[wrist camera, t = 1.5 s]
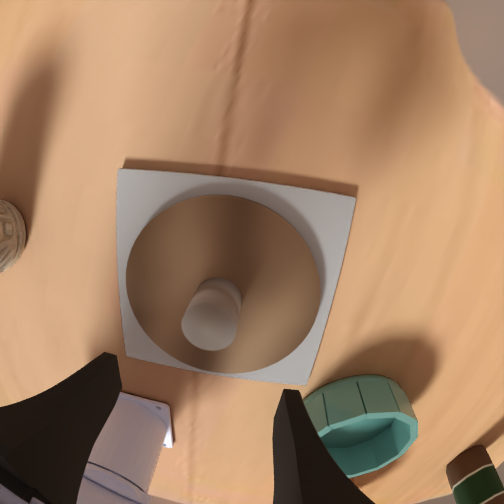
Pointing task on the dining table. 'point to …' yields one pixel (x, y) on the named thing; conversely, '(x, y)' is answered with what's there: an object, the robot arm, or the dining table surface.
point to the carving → (10, 235)
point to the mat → (268, 194)
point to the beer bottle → (475, 478)
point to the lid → (223, 284)
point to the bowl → (363, 422)
